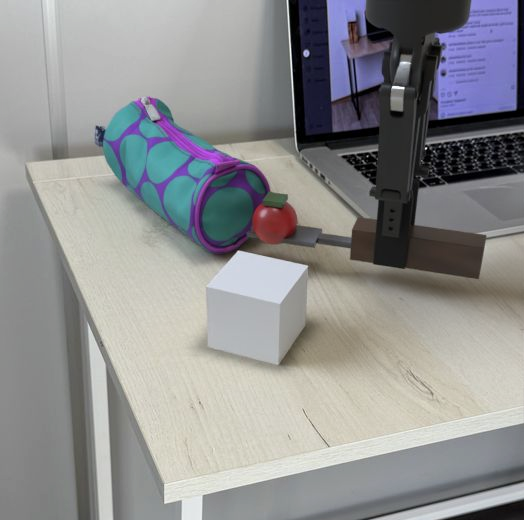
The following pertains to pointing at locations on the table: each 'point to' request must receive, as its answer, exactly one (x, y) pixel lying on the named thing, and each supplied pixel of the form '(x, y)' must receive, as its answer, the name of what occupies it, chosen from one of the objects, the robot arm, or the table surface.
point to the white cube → (256, 306)
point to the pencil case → (182, 175)
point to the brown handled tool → (373, 240)
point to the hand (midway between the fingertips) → (392, 255)
